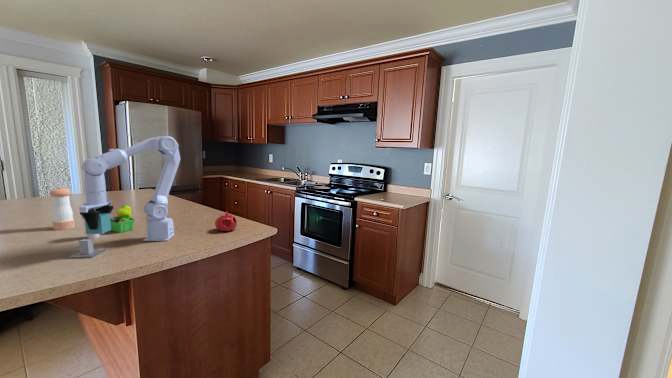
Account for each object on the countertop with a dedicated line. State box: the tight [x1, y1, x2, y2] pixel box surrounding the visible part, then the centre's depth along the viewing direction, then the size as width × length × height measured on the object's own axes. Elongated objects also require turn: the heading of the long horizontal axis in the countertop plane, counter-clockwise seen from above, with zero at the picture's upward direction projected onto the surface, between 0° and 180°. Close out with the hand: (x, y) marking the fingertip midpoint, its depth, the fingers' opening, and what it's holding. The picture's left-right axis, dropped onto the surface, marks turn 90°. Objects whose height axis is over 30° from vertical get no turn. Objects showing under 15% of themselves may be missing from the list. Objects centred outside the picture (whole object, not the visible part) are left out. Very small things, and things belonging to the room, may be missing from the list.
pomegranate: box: [214, 210, 238, 232], centre depth 134 cm, size 10×10×9 cm
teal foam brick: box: [84, 213, 112, 235], centre depth 103 cm, size 5×5×7 cm
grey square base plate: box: [68, 238, 105, 259], centre depth 99 cm, size 7×7×6 cm
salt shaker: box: [49, 186, 76, 231], centre depth 127 cm, size 7×7×19 cm
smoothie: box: [81, 215, 101, 239], centre depth 116 cm, size 6×6×14 cm
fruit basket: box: [110, 204, 136, 233], centre depth 128 cm, size 11×9×11 cm
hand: (98, 227), depth 103 cm, fingers closed on teal foam brick, 5 cm apart
